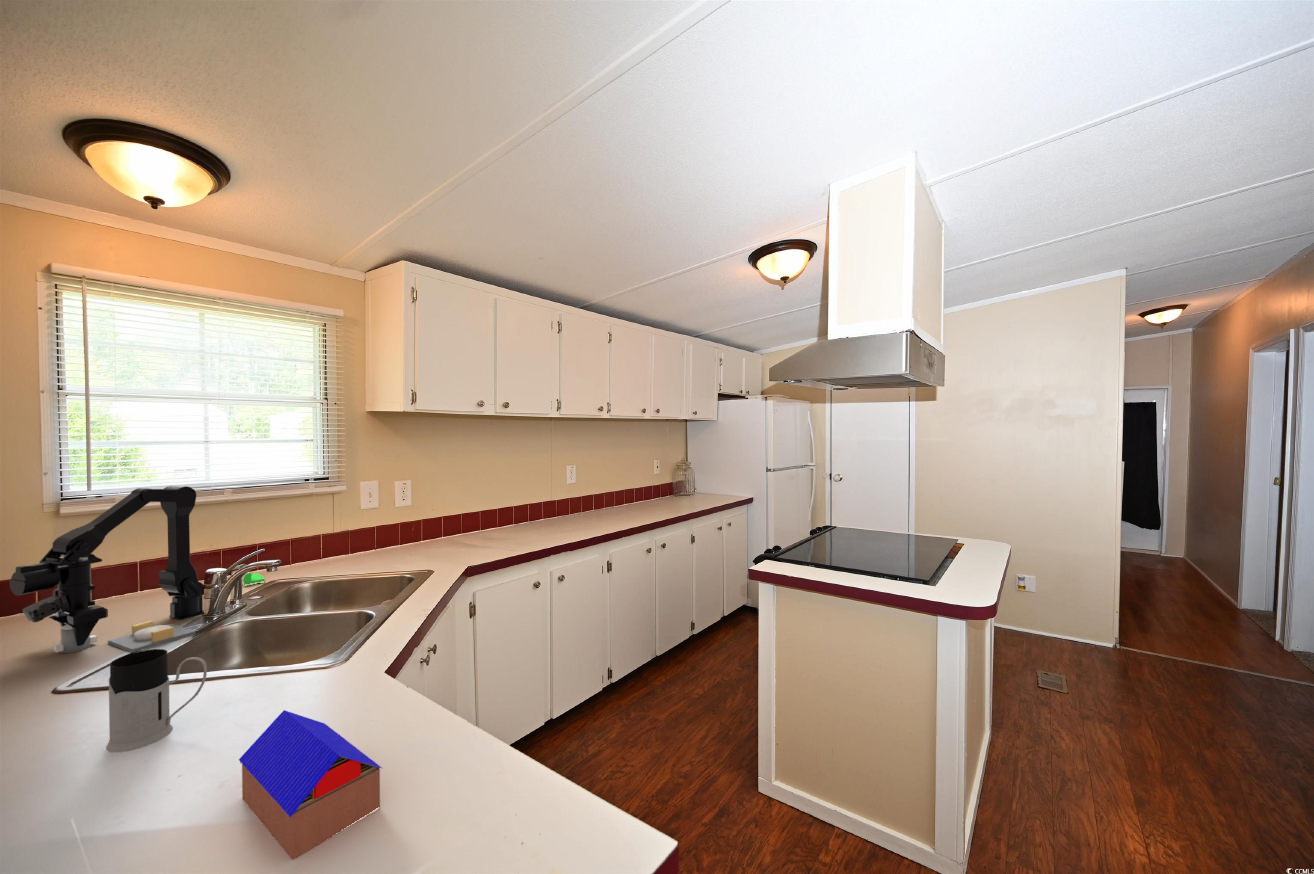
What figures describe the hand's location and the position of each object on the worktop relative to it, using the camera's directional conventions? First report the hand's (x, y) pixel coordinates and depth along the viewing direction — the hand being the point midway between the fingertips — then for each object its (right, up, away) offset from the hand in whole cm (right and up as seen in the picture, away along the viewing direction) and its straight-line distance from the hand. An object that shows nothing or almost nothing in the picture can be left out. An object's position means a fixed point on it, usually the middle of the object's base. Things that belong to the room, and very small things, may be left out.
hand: (75, 643), depth 133 cm
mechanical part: (-1, -1, +58) cm, 58 cm away
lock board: (+13, -2, +7) cm, 15 cm away
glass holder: (+57, -3, -37) cm, 68 cm away
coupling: (0, -2, 0) cm, 2 cm away
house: (+97, -3, -55) cm, 111 cm away
